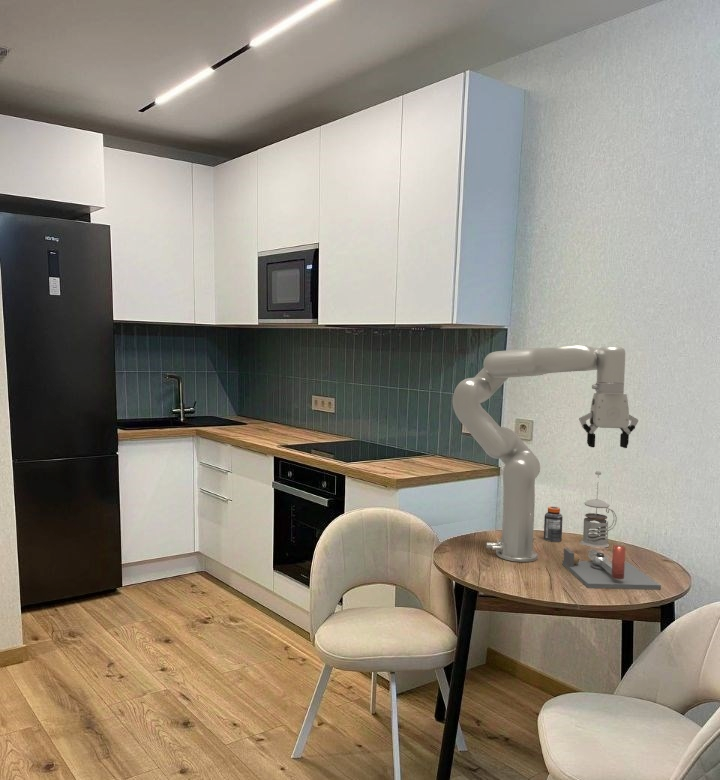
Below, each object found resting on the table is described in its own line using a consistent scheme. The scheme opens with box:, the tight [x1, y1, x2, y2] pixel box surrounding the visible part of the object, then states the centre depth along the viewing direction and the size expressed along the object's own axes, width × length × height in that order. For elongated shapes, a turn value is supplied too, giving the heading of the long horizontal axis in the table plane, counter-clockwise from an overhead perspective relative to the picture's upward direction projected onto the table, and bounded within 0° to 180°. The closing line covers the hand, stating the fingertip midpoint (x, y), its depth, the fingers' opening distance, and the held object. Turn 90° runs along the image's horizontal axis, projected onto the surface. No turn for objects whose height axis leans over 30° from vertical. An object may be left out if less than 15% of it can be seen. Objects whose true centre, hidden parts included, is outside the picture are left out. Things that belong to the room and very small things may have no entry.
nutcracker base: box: [562, 547, 662, 590], centre depth 182 cm, size 20×20×5 cm
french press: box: [579, 470, 618, 548], centre depth 215 cm, size 10×12×25 cm
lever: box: [588, 544, 627, 579], centre depth 182 cm, size 4×19×9 cm, turn 1°
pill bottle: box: [543, 506, 563, 543], centre depth 219 cm, size 6×6×11 cm
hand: (607, 447), depth 187 cm, fingers open, 9 cm apart
